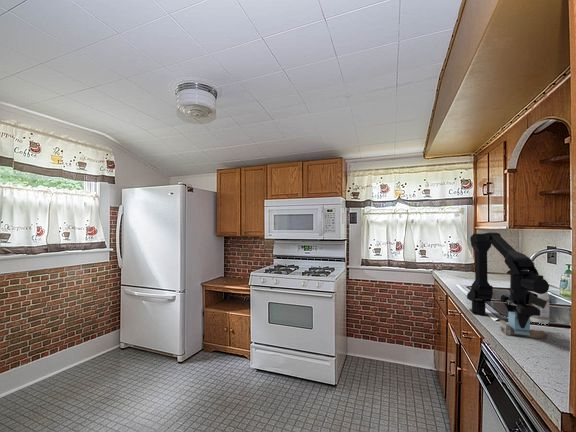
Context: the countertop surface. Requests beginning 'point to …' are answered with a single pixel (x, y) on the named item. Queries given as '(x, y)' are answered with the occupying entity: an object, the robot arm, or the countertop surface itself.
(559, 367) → the countertop surface
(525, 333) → the block
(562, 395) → the countertop surface
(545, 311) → the bath foam
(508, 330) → the rail
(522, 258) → the robot arm
